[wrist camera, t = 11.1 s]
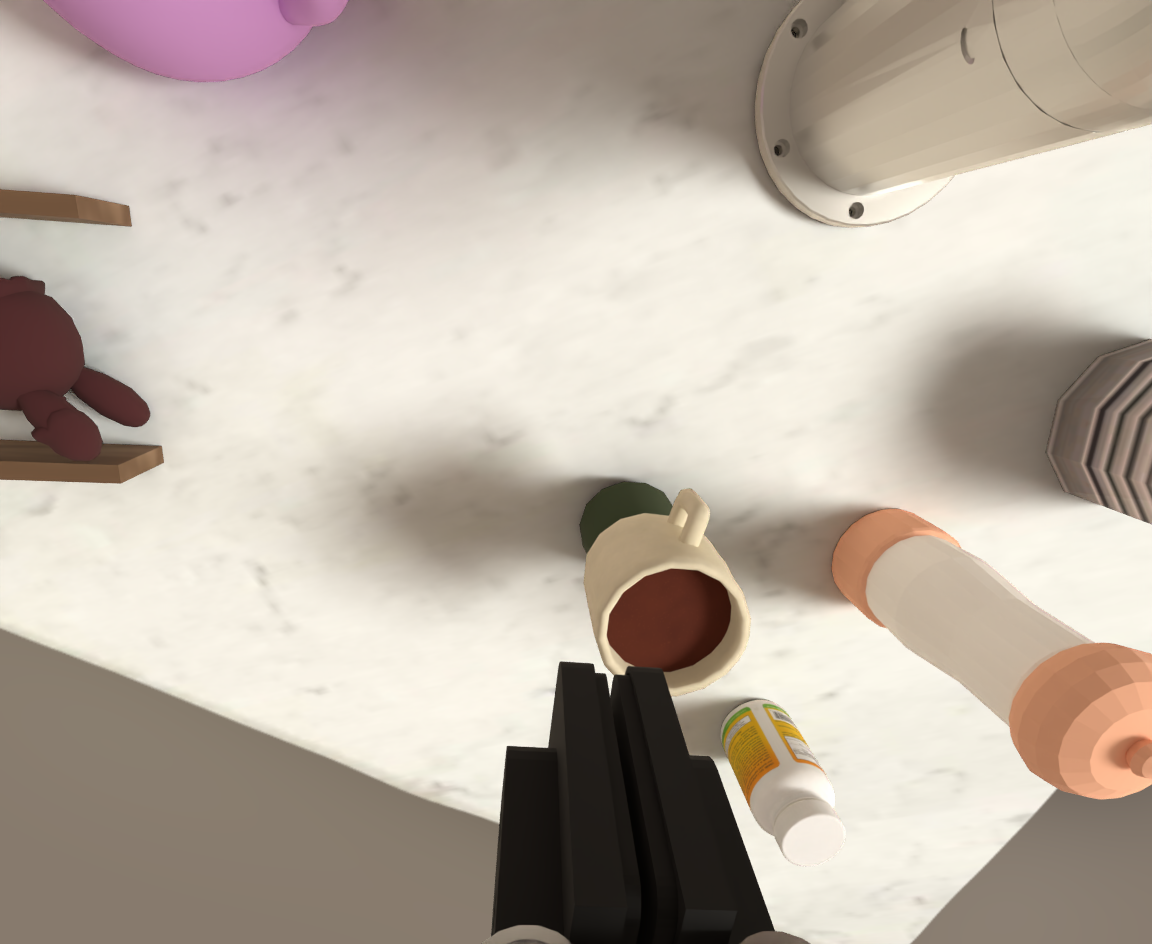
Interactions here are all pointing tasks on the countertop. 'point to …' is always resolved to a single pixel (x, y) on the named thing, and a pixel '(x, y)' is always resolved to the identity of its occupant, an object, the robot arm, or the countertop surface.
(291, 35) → the teapot
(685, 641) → the character mug
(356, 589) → the countertop surface
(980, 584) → the salt shaker
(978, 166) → the robot arm
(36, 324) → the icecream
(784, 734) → the supplement bottle
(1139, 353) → the can
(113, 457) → the frame
